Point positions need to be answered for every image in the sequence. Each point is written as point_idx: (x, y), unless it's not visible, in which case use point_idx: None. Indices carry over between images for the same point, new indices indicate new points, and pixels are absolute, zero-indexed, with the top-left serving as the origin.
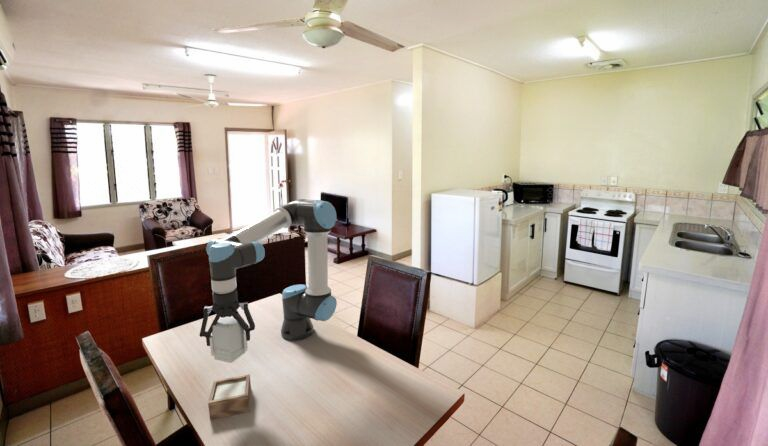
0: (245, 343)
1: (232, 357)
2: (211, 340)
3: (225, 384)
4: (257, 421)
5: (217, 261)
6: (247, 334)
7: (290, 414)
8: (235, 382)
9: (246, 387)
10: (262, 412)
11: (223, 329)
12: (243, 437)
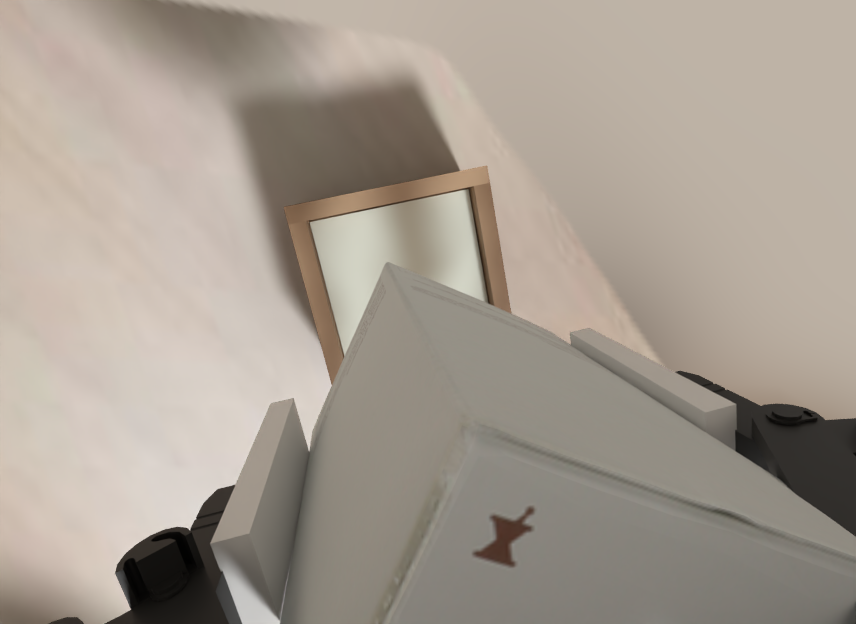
0: (264, 445)
1: (379, 287)
2: (684, 393)
3: None
4: (229, 133)
5: None
6: (209, 550)
7: (62, 164)
8: None
9: (314, 281)
10: (225, 196)
11: (605, 445)
12: (263, 28)
